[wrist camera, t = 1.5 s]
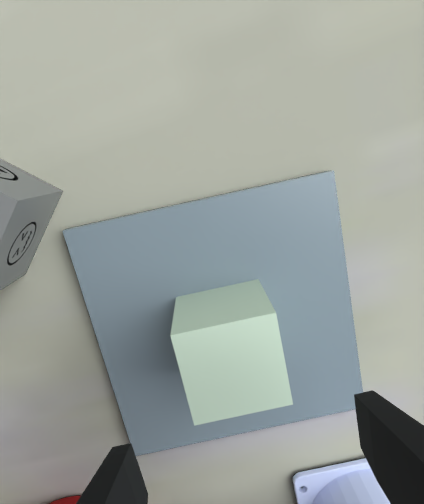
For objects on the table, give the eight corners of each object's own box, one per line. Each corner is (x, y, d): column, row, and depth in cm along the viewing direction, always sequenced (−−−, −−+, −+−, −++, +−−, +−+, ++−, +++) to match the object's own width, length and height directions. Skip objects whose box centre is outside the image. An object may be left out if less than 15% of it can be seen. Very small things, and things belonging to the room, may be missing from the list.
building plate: (360, 400, 22) (364, 407, 22) (136, 448, 23) (134, 456, 22) (329, 170, 19) (333, 170, 18) (66, 228, 19) (62, 231, 19)
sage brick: (272, 353, 21) (293, 404, 16) (194, 370, 21) (194, 425, 16) (258, 279, 20) (276, 312, 15) (176, 297, 20) (170, 335, 15)
